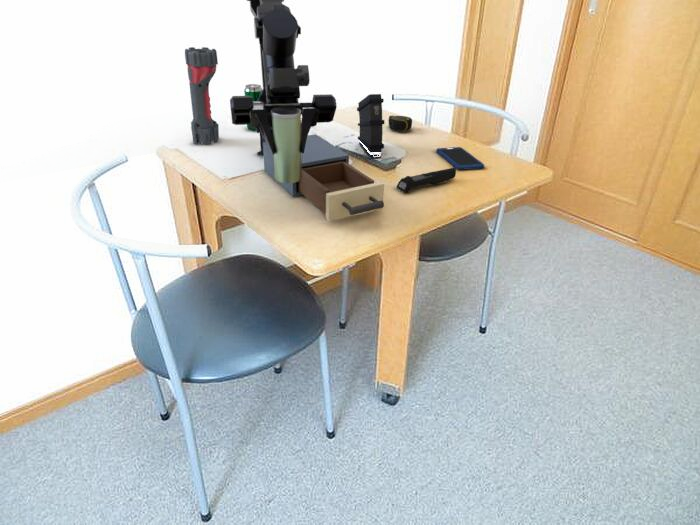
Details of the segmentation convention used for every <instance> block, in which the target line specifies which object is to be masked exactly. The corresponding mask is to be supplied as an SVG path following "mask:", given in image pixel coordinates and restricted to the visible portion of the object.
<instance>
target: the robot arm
mask: <svg viewBox="0 0 700 525" xmlns="http://www.w3.org/2000/svg"><path fill="white" fill-rule="evenodd" d="M246 2H249V10H250V12H251V14H252V16H253V29H254V38H255V39H256V40H257V39H258V44H259V53H260V55H259V56H260V66H261V67H260V68H261V83H262V89H263V90H262V92H261V94H260V96H259V98H258V101H255V102H253V97H252V96H245V95H232V97H230V99H229V106H230V107H229V108H230V114H231V123H232V125H235V126H242V125H243V126H244V125H245V126H247V125H250V124H251V127H252V128H256V130H257V131H256V134H259V143H260V151H257V152H256V155H257V156H261V157H264V155H263V142H266V143H267V145H268V147H269V149H270V151H271V153H272V154H274V153H275V152H274V142H273V130H272V115H271V110H272V109H274V108H277V107H295V108H298V109H300V110H301V152H302V153H304V150H305V145H306V140H307V136H308V135H309V133H310V131H311V129H312V127H313V128H314V127H317V124H318V123H319V124H320V123H332V122H333V121H334V118H335V115H336V111H337V99H336V97H335V96H334V95H333V94H329V93H328V94H313V95H312V101H311V102H299V99H301V89H300V87H308V86H309V85H310V80H311V79H310V70H309V65H308V64H298V65H297V67H295V59H294V58H295V57H294V54H295V52H296V45H297V39H298V38H299V35H301V34H302V31H301V30H302V27H301V26H300V25H299V22H298V20H297V18H296V17H295V16H294V14H292V12H291V8H290V7H289V6H288V5H285V4H283V3H284V2H285V0H246Z"/></svg>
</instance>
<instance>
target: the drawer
mask: <svg viewBox="0 0 700 525" xmlns="http://www.w3.org/2000/svg"><path fill="white" fill-rule="evenodd" d="M298 186H299V191H300V192H301V193H302V194H303V195H302V196H304V197H306V199H308V200H309V201H310V202H311V203H312V204H313V205H315V206H316V207H317V208H318V209H319V210H320V211H322V212H323V213H324V214H325V220H326V221H328V222H331V221H336V220H339V219H340V220H341V219H343V218H348V217H351V216H355V215H360V214H365V213H368V212H373V211H376V210H380V209H383V208H384V207H385V202H384V196H385V195H384V194H385V183H384V182H382V181H378V182H375V180H374V179H372V178H371V177H369V176H368V175H366V173H363V172H362V171H360V170H359V169H357V168H355V167H354V166H352V164H350V163H349V164H348V163H346V162H345V161H341V162H336V163H330V164H325V165H319V166H314V167H308V168H303V169H302V179H301V180H300V181H298Z"/></svg>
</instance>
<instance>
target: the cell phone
mask: <svg viewBox="0 0 700 525" xmlns="http://www.w3.org/2000/svg"><path fill="white" fill-rule="evenodd" d="M435 150H436V153H437V154H439V155H440V156H441V157H442V158H443V159H444V160H446V162H448V163H449V164H450V165H452V167H453V168H456V170H461V171H462V170H477V169H483V168H485V163H483V162H482V161H480V160H478V159H477V157H475V156H474V155H472V154H471V153H469V152H468V151H467V150H465V149H464V148H462V147H461V146H453V147H437V148H436V149H435Z"/></svg>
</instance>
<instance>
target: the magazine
mask: <svg viewBox="0 0 700 525" xmlns="http://www.w3.org/2000/svg"><path fill="white" fill-rule="evenodd" d="M384 100H385V99H384V98H382V93H373V94H372V93H371V94H368V95H367V96H365V97H364V98H363V99H361V100H360V101H359V102H358V103H357V104H358V106H357V107H356V112H358V118H359V123H357V127H359V135H358V136H357V140H358V141H359V140H360V141H361V142H362V143H363V144H364V145H365V146H366V147H367V148H368V150H369V151H370V152H382V153H383V149H385V144H384V143H383V125H385V119H383V103H384V102H385V101H384ZM358 144H359V146H360V148H361V149H362V150H363V151H364V152H365V153H366V155H367V156H368V157H369V159H378V158H377V157H376V158H374V157H373V155H370V154H369V153H368V152H367V150H366V149H365V148H364V147H363V145H362V144H361V143H360V142H358ZM374 156H377V155H374ZM378 156H379V155H378Z"/></svg>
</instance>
